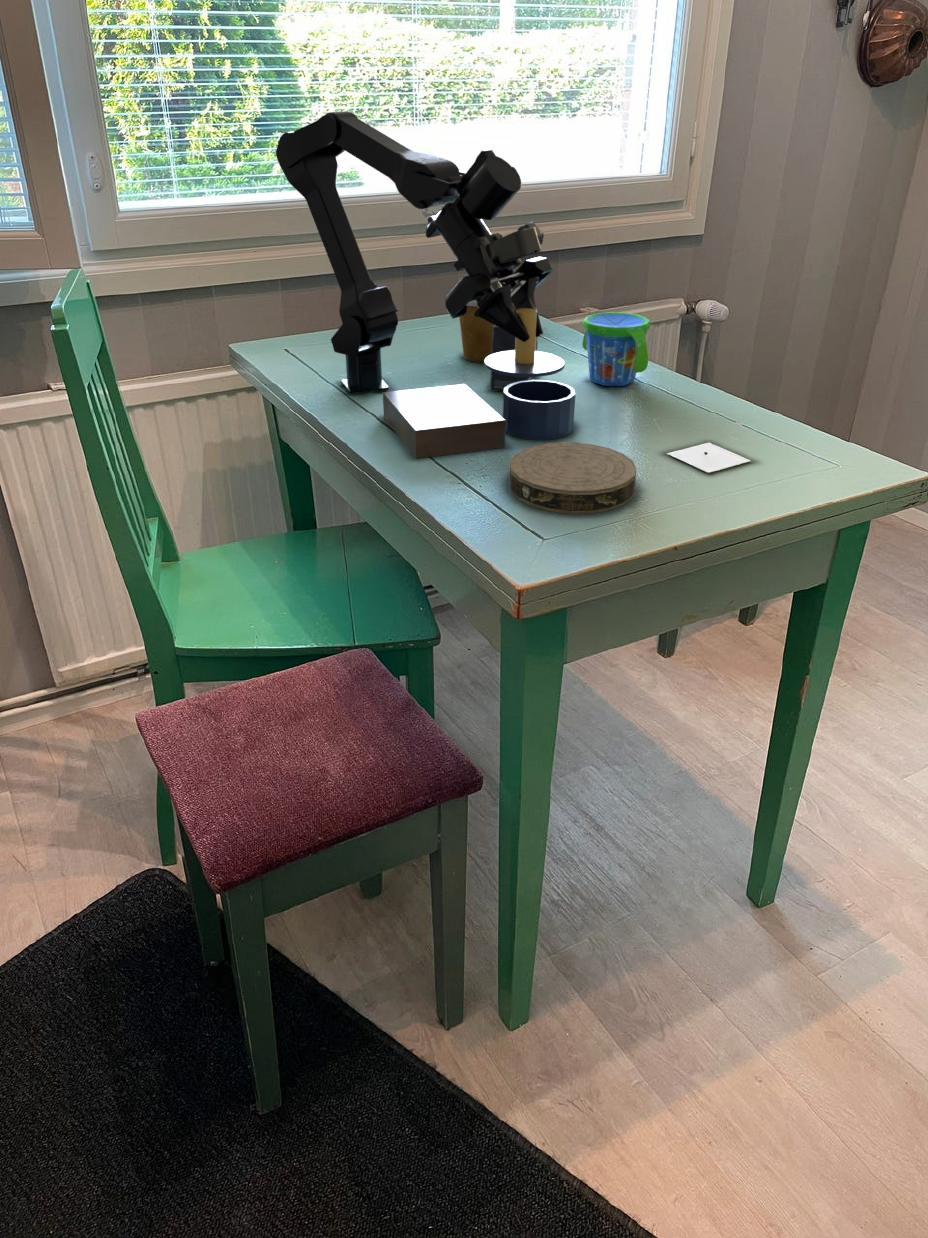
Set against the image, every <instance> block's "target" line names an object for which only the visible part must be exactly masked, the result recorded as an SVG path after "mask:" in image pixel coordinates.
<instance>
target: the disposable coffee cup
mask: <svg viewBox="0 0 928 1238" xmlns="http://www.w3.org/2000/svg"><path fill="white" fill-rule="evenodd" d="M466 306H467V313H466V314H465V315H463V316H460V317H458V318H459V319H458V320H459V327H460V336H461V345H462V354H463V358H464V359H465V360H467V361H470V362H475V363H484V361H485V358H486V357H488V356H489V355H491V354H492V333H493V326H494V324H492V323H490V322H488V321H486V320H484V319H482V318H480V317H475V316H474V313H475V312H476V311H477V310H478V309H479V307H478V306H477V301H476V300H474V301H470V302H469V303H468V304H467V305H466Z"/></svg>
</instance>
